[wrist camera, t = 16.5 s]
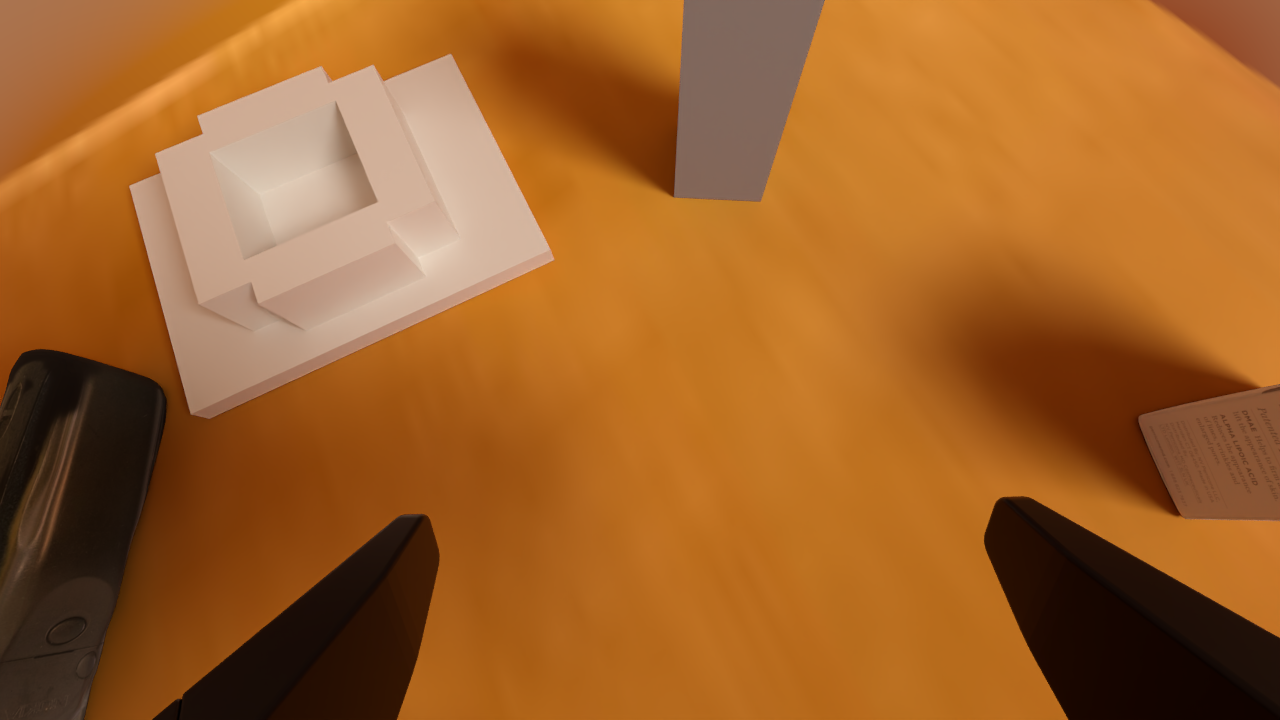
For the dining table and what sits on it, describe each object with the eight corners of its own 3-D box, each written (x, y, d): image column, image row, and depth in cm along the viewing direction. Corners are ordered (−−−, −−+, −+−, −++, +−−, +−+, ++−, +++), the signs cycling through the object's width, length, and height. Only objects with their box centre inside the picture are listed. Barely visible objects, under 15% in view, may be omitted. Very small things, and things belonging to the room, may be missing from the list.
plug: (761, 128, 27) (850, -211, 15) (760, 201, 26) (855, -98, 14) (678, 125, 27) (696, -212, 15) (673, 197, 26) (689, -102, 14)
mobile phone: (-8, 344, 20) (-184, 858, 16) (74, 340, 20) (-78, 855, 15) (119, 382, 25) (13, 785, 20) (186, 379, 25) (96, 782, 20)
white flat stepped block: (457, 69, 29) (427, -2, 25) (554, 260, 25) (536, 212, 22) (148, 197, 27) (63, 143, 23) (209, 418, 24) (123, 398, 20)
